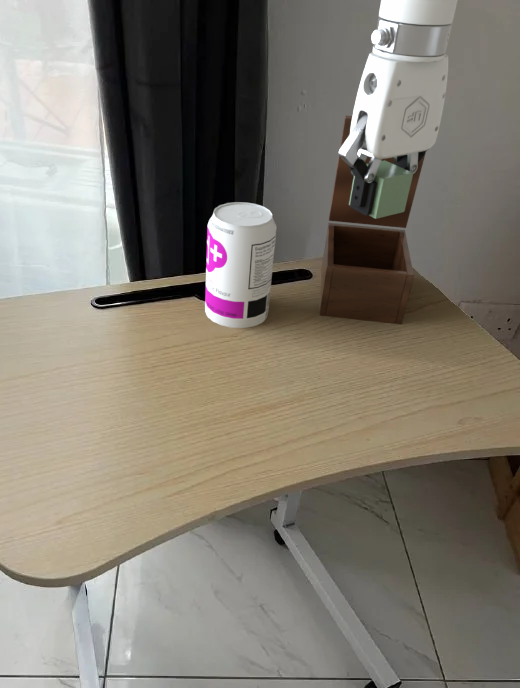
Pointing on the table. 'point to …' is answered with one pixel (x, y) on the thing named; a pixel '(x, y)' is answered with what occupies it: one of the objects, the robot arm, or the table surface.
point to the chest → (365, 273)
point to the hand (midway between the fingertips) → (377, 205)
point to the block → (390, 190)
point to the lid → (343, 188)
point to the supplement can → (239, 264)
